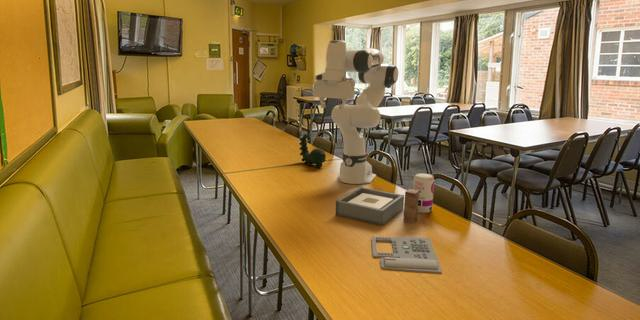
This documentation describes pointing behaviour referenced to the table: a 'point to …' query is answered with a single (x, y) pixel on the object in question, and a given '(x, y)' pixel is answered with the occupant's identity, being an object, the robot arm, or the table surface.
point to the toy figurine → (311, 153)
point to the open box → (370, 206)
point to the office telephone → (408, 254)
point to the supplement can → (424, 191)
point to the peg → (411, 206)
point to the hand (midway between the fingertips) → (332, 108)
